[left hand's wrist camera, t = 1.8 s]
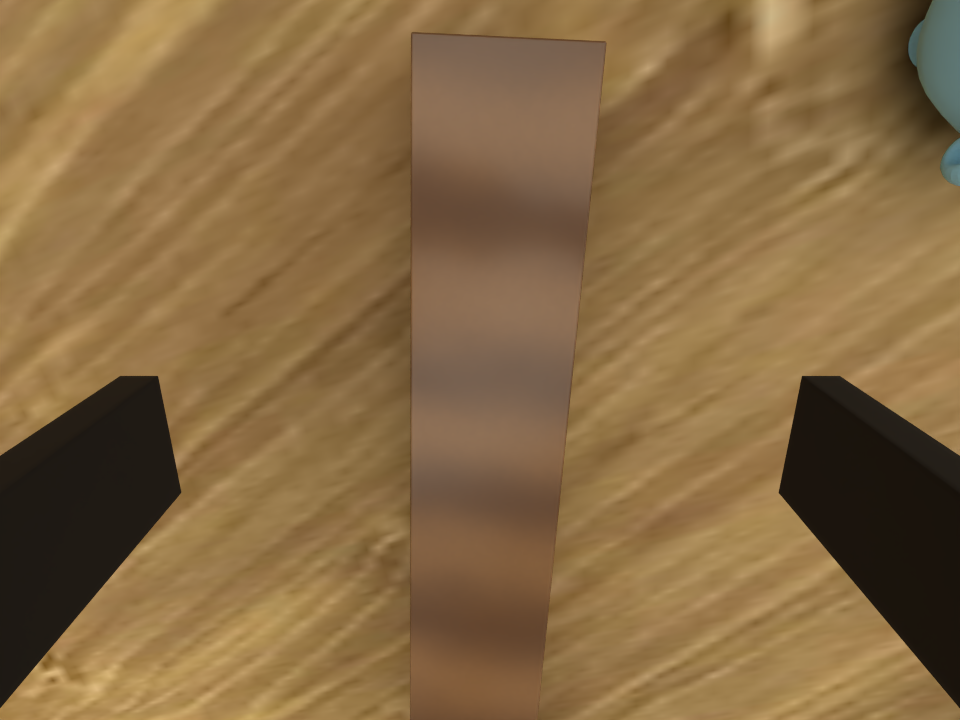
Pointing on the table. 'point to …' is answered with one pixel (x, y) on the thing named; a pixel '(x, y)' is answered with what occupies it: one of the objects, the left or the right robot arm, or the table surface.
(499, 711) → the bar
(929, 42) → the teapot
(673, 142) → the table surface
